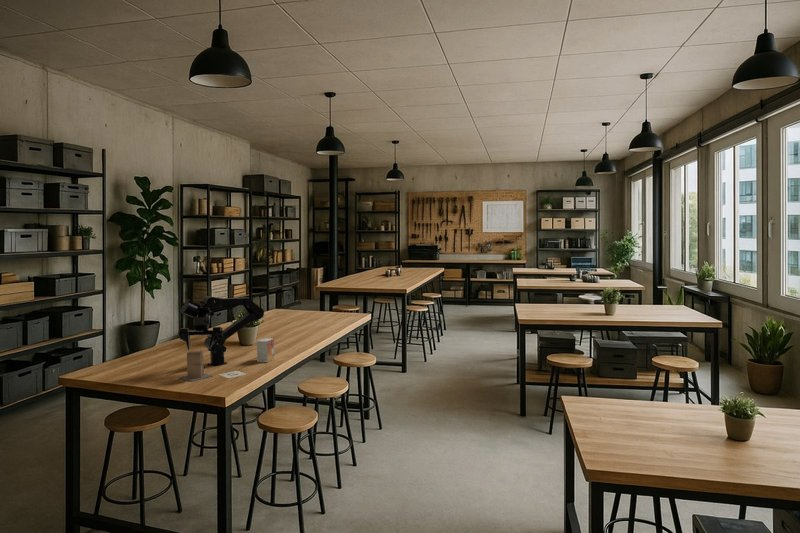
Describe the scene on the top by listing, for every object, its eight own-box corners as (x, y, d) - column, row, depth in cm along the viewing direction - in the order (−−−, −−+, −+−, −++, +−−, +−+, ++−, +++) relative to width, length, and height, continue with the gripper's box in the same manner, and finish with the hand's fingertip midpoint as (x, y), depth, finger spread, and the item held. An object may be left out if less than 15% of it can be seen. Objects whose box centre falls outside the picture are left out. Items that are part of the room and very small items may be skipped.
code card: (218, 374, 232) (218, 374, 232) (237, 371, 238) (237, 370, 238) (227, 378, 225) (227, 378, 225) (246, 374, 232) (246, 374, 232)
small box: (267, 362, 253) (267, 341, 253) (257, 362, 254) (256, 341, 254) (274, 358, 261) (274, 338, 260) (264, 358, 262) (263, 337, 262)
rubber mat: (178, 378, 226) (178, 377, 226) (199, 373, 234) (199, 372, 234) (192, 382, 220) (192, 380, 220) (212, 376, 228) (212, 375, 228)
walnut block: (190, 375, 230) (189, 350, 229) (203, 374, 230) (203, 349, 230) (187, 378, 224) (186, 353, 223) (201, 377, 225) (200, 352, 224)
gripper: (178, 310, 236) (173, 339, 226) (221, 309, 239) (218, 337, 229) (183, 325, 244) (178, 353, 234) (224, 323, 248) (221, 351, 237)
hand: (199, 348), depth 233 cm, fingers open, 9 cm apart
